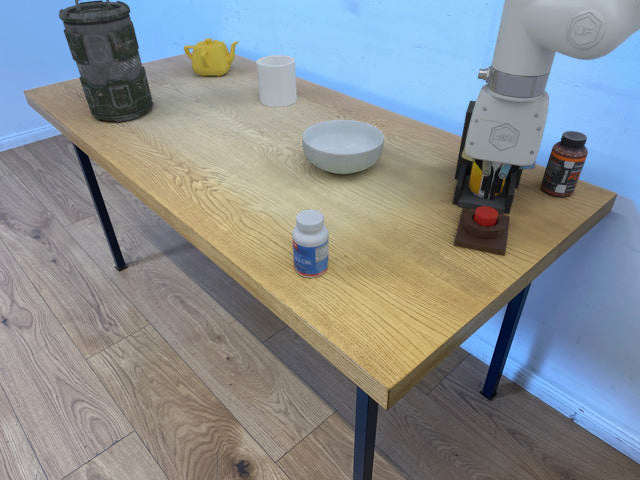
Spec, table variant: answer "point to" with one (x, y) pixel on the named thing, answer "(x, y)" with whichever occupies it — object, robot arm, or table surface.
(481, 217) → the button
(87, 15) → the canister
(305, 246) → the pill bottle
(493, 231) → the button block
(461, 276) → the table surface
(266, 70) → the mug
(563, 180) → the supplement bottle
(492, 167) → the robot arm
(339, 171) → the cereal bowl
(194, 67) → the teapot
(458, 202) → the dark grey cradle
